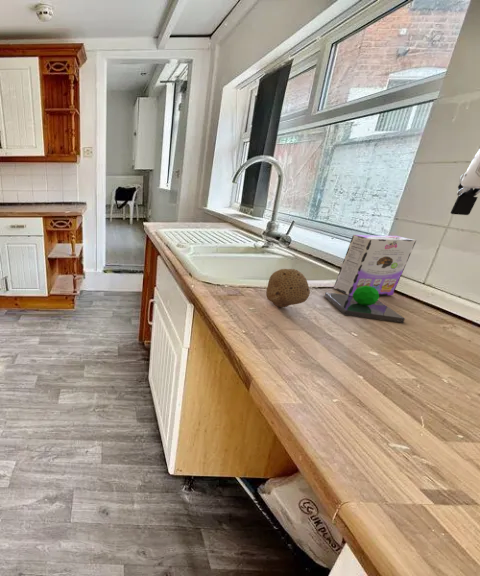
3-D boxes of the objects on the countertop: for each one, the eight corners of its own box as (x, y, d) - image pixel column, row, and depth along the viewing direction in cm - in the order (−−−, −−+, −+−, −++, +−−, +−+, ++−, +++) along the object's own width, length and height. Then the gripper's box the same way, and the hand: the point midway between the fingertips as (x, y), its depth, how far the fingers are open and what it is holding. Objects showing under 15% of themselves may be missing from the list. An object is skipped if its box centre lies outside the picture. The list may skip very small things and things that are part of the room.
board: (374, 302, 82) (376, 298, 82) (403, 323, 71) (405, 318, 71) (324, 296, 85) (325, 292, 84) (344, 314, 74) (346, 310, 74)
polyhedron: (353, 305, 76) (360, 288, 75) (347, 298, 81) (353, 282, 79) (378, 310, 75) (386, 292, 73) (370, 302, 79) (377, 285, 77)
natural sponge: (307, 309, 76) (320, 271, 72) (296, 319, 71) (309, 278, 67) (269, 297, 82) (279, 261, 79) (256, 305, 77) (266, 267, 73)
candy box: (374, 288, 93) (396, 235, 87) (393, 296, 87) (418, 239, 81) (332, 287, 92) (352, 233, 85) (348, 295, 86) (371, 238, 80)
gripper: (462, 132, 68) (427, 211, 74) (544, 122, 53) (491, 222, 59) (505, 133, 66) (466, 213, 73) (603, 122, 51) (542, 225, 57)
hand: (477, 217), depth 66 cm, fingers open, 9 cm apart
